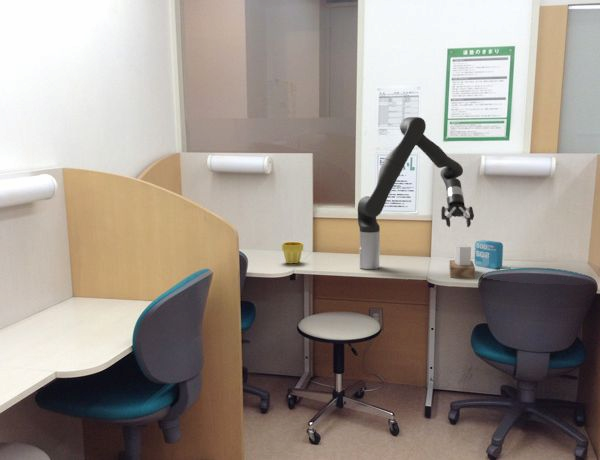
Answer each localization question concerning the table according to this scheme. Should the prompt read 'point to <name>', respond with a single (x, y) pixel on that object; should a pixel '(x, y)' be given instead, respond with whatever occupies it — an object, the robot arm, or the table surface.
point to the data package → (488, 254)
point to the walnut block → (461, 270)
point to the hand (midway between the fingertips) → (458, 226)
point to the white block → (462, 255)
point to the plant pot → (292, 251)
